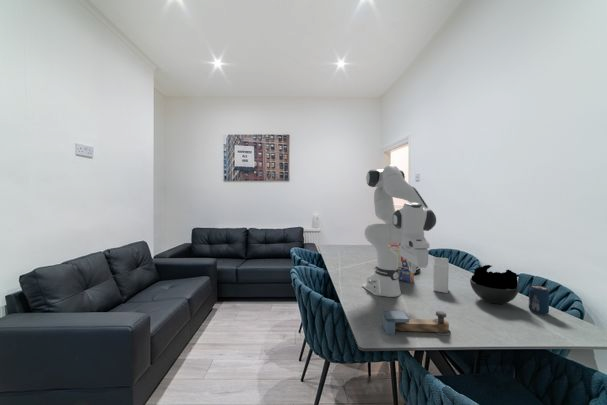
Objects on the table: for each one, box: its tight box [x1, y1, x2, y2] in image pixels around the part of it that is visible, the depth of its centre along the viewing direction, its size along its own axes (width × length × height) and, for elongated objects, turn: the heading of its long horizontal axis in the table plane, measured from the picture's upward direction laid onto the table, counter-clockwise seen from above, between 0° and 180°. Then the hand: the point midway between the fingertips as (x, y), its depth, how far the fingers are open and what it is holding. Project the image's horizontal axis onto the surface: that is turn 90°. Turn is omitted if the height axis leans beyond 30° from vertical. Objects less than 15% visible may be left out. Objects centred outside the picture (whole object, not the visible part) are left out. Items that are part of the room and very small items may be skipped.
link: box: [395, 310, 450, 333], centre depth 102 cm, size 21×6×7 cm, turn 87°
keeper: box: [381, 310, 410, 335], centre depth 102 cm, size 8×7×6 cm
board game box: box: [387, 243, 415, 283], centre depth 167 cm, size 20×6×27 cm, turn 46°
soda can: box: [528, 284, 550, 316], centre depth 118 cm, size 7×7×12 cm
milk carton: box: [433, 256, 449, 294], centre depth 146 cm, size 7×7×19 cm
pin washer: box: [434, 329, 452, 336], centre depth 102 cm, size 7×7×1 cm
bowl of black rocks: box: [469, 264, 520, 305], centre depth 129 cm, size 20×20×19 cm
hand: (412, 271), depth 109 cm, fingers closed
